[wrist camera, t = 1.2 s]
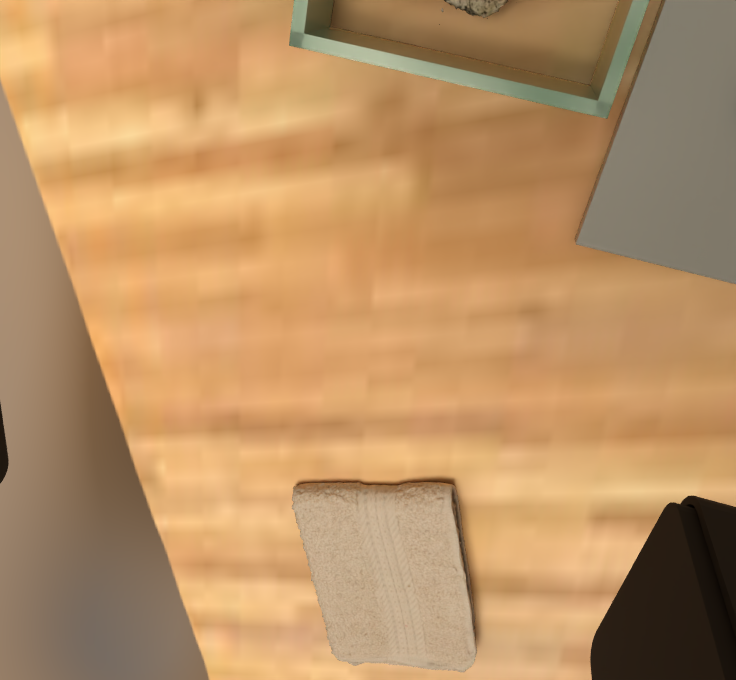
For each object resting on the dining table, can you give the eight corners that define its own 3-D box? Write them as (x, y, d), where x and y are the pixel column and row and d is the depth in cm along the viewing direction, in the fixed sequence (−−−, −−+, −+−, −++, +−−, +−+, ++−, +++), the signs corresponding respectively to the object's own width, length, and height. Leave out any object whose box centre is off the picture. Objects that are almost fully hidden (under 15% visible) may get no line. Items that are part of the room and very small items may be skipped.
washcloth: (342, 642, 56) (333, 675, 53) (291, 473, 48) (277, 502, 45) (485, 650, 53) (483, 686, 50) (456, 471, 45) (451, 502, 42)
